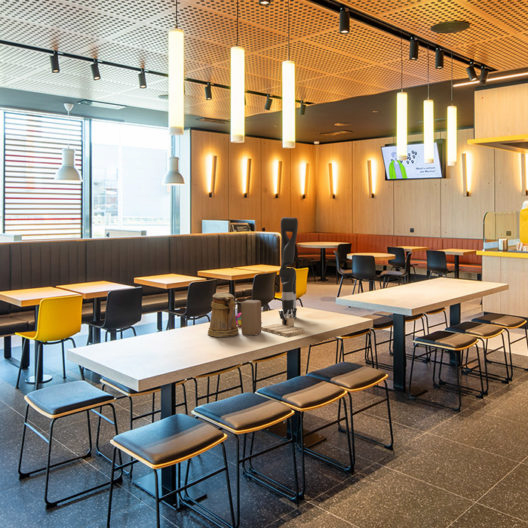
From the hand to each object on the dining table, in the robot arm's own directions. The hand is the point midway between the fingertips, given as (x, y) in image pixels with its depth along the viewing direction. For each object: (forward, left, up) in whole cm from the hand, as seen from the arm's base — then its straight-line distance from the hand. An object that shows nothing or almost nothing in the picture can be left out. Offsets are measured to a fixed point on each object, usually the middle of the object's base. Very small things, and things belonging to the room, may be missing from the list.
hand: (288, 324), depth 345 cm
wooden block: (-1, -29, -2) cm, 29 cm away
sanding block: (0, 0, -1) cm, 1 cm away
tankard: (-9, -43, -2) cm, 44 cm away
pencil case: (-25, -14, -2) cm, 29 cm away
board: (+8, -12, -1) cm, 15 cm away
